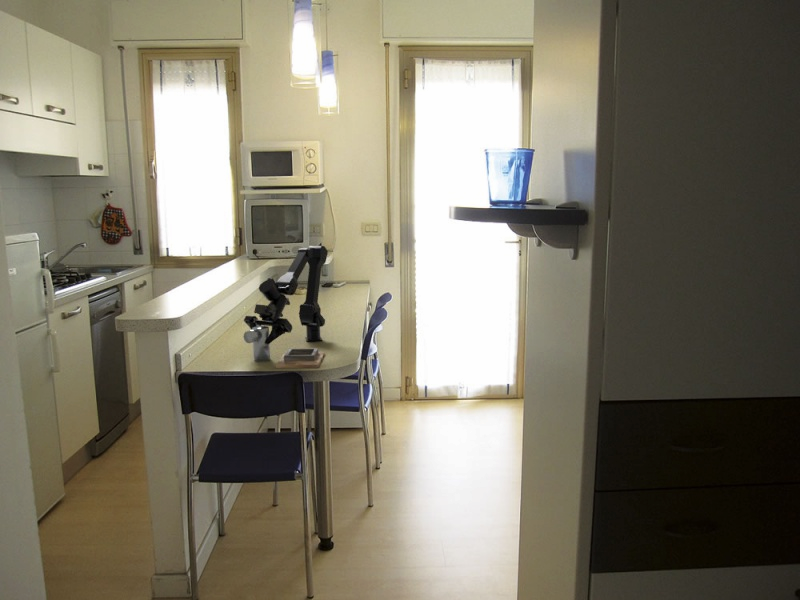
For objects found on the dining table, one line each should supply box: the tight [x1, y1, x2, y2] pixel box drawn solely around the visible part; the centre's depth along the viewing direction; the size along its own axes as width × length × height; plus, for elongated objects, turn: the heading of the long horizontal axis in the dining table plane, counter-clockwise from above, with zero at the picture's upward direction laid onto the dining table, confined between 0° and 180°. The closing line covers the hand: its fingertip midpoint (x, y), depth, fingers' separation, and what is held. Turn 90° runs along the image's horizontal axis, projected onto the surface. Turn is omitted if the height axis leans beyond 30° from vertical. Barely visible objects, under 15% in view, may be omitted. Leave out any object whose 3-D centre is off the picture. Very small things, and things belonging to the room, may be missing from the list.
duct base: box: [275, 347, 325, 369], centre depth 233 cm, size 18×15×3 cm
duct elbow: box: [243, 325, 271, 363], centre depth 233 cm, size 10×6×12 cm, turn 154°
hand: (258, 342), depth 234 cm, fingers open, 7 cm apart
